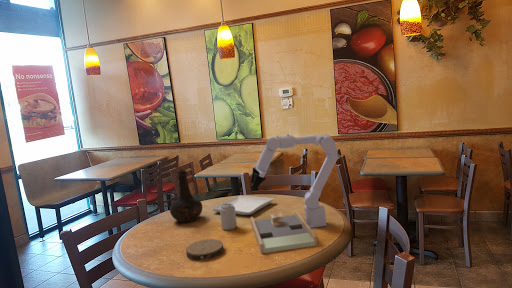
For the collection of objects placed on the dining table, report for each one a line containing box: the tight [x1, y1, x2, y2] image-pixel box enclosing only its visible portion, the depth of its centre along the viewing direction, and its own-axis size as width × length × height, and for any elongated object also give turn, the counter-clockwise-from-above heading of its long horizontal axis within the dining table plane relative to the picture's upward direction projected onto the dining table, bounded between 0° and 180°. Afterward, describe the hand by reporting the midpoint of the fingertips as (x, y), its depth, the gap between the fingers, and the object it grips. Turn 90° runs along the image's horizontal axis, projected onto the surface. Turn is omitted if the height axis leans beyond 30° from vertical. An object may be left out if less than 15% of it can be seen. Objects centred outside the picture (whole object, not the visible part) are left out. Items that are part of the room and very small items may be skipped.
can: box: [219, 204, 238, 231], centre depth 192 cm, size 8×8×12 cm
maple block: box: [270, 213, 284, 226], centre depth 186 cm, size 5×5×4 cm
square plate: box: [211, 195, 275, 216], centre depth 223 cm, size 27×27×4 cm
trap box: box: [249, 210, 318, 254], centre depth 177 cm, size 24×36×4 cm, turn 7°
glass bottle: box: [169, 169, 203, 223], centre depth 211 cm, size 18×18×28 cm
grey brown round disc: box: [185, 238, 225, 261], centre depth 166 cm, size 16×16×3 cm
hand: (253, 185), depth 185 cm, fingers open, 7 cm apart
